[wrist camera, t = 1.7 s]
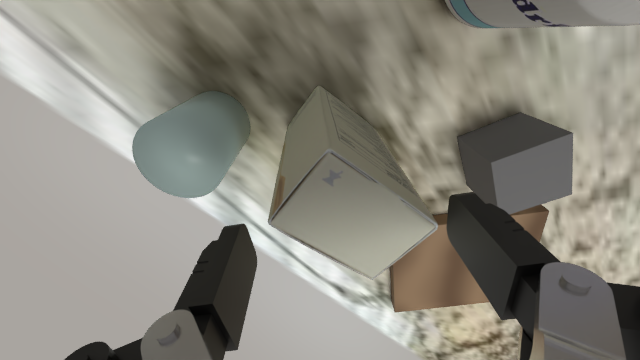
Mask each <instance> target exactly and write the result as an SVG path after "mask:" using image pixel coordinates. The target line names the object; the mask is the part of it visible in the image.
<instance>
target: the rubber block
mask: <svg viewBox="0 0 640 360" xmlns="http://www.w3.org/2000/svg"><path fill="white" fill-rule="evenodd" d="M457 140H458V145H459V150H460V155H461V159H462V164H463V169H464V174H465V179H466V183H467V186H468V187H469V188H470V189H471V190H472V191H473V192H474V193H475V194H476V195H477V196H478V197H479V198H480V199H481V200H482V201H483V202H484V203H485V204H488V203H491V204H493V205H495V206H497V207H499V208H501V209H503V210H505V211H506V212H507V213H508V214H509V215H510V214H513V213H516V212H519V211H522V210H525V209H528V208H531V207H534V206H537V205H540V204H543V203H546V202H550V201H553V200H556V199H559V198H562V197H565V196H568V195H571V194H572V160H573V133H572V132H569V131H567V130H564V129H562V128H559V127H557V126H554V125H552V124H549V123H546V122H544V121H541V120H539V119H536V118H534V117H531V116H529V115H526V114H524V113H521V112H520V113H518V114H515V115H513V116H510V117H507V118H505V119H502V120H500V121H497V122H495V123H492V124H489V125H487V126H484V127H482V128H479V129H477V130H474V131H471V132H469V133H466V134H464V135H461V136H459V137H457Z"/></svg>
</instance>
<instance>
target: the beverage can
mask: <svg viewBox="0 0 640 360" xmlns="http://www.w3.org/2000/svg"><path fill="white" fill-rule="evenodd" d="M445 2H446V4H447V6H448V8H449V10H450V11H451V12H452V14H453V15H454V16H455V17H456V18H457V19H458V20H460V21H461V22H462V23H464V24H466V25H468V26H471V27H475V28H525V27H575V26H625V25H638V24H640V0H445Z"/></svg>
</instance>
